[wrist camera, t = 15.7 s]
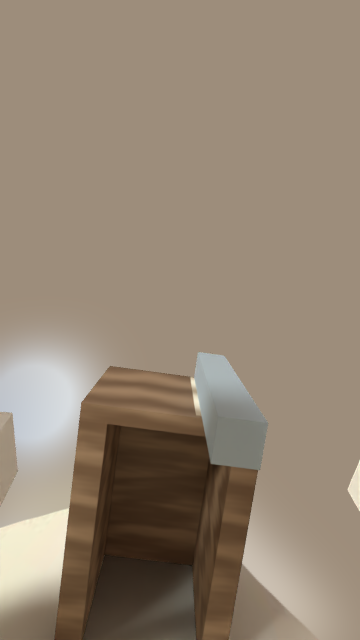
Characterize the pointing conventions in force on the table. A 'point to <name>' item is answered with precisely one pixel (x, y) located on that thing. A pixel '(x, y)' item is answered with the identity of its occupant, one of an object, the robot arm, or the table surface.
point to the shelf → (152, 497)
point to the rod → (228, 415)
